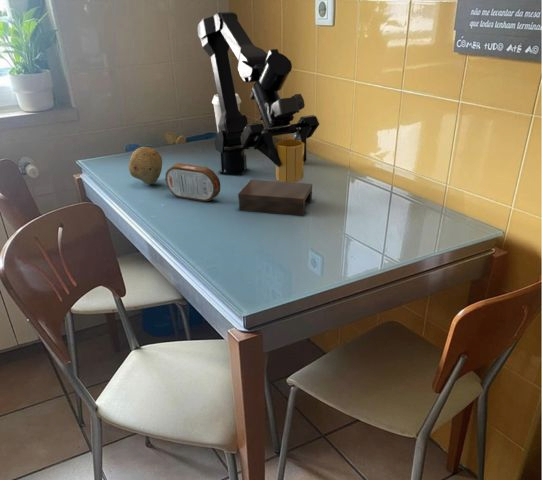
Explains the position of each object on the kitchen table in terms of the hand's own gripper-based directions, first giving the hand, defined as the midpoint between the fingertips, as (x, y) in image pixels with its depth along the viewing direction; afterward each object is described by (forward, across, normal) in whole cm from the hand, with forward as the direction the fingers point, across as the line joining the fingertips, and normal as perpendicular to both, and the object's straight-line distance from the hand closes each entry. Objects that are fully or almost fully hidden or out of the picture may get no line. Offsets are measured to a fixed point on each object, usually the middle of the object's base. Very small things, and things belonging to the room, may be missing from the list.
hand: (292, 163), depth 127 cm
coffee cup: (-37, +12, +53) cm, 65 cm away
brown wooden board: (+5, -2, +11) cm, 12 cm away
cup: (+2, 0, +4) cm, 4 cm away
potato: (-18, -25, +34) cm, 45 cm away
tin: (-6, -18, +22) cm, 29 cm away
